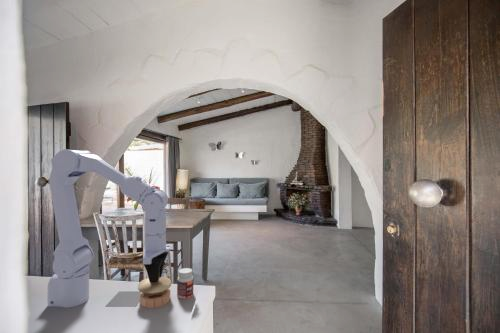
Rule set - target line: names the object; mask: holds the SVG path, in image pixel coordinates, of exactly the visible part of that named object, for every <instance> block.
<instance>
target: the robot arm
mask: <svg viewBox="0 0 500 333" xmlns="http://www.w3.org/2000/svg"><path fill="white" fill-rule="evenodd" d="M50 163H51V171H50V173H49V178H48V184H49V189H50V190H49V191H50V195H51V196H50V197H51V202H52V208H53V212H54V218H55V222H56V228H57V230H56V231H57V235H58V239H59V241H58V242H59V243H58V245H57V246H56V248H55V250H54V251H53V256H54V257H53V258H54V259H53V262H52V270H53V275H52V276H51V277H50V279H49V280H48V283H47V307H61V308H72V307H73V308H74V307H77V306H80V305H82V304H84V303H86V302H87V301H88V300H90V264H91V263H92V262H93V261H94V258H95V252H94V251H93V250H94V249H92V247H91V245H90V244H89V239H87V238H86V237H84V236H83V232H82V227H81V220H80V216H79V210H78V204H77V197H76V192H75V187H74V185H75V183H76V182H77V181H78V179H79V178H80V177H81V176H83V175H85V174H87V173H96V174H97V175H99V176H101V177H103V178H104V179H107V181H110V182H111V183H113V184H115V185H116V186H118V187H119V190H120V193H122V194H123V195H125V196H127V197H128V198H130V199H131V200H132V201H134V202H136V203H138V204H139V205H141V207H142V209H143V211H144V212H145V214H144V250H143V252H144V254H143V257H142V258H141V264H142V265H143V267H144V268H145V270H146V274H147V278H149V281H150V283H157V282H158V279H159V278H161V277H162V274H163V270H164V264H165V263H166V262H165V261H166V258H167V257H168V255H169V251H171V247H170V246H167V216H166V215H167V212H166V211H167V208H166V206H167V205H168V203H169V196H168V194H167V193H166V192H165V191H164V190H162V189H157V187H156V186H154V185H153V186H151V185H150V184H149V183H146V182H144V181H143V180H142V179H143V178H142V177H141V176H139V175H137V176H135V175H130V176H127V175H126V174H124V173H123V172H121V171H120V170H118V169H117V168H116V167H114V166H112V165H111V164H110V163H109V162H107V161H106V160H104V159H103V158H101V157H100V156H99V155H97V154H93V152H91V151H89V150H77V149H76V150H75V149H67V148H64V149H61V150H59V151H58V152H57V153H56V154H55V155H53V156H52V158H51V159H50ZM159 272H160V275H159Z"/></svg>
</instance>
